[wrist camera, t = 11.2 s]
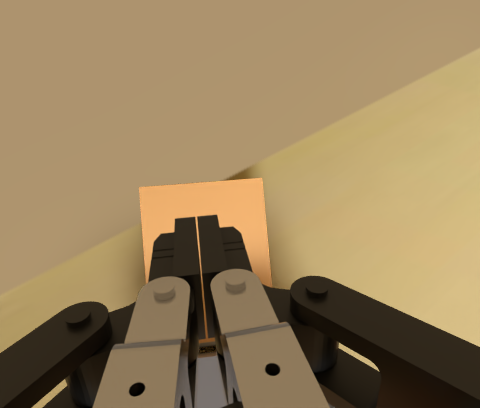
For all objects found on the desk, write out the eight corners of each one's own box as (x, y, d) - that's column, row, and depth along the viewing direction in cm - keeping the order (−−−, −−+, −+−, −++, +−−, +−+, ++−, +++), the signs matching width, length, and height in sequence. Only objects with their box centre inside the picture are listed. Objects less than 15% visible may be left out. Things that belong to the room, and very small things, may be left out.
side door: (151, 356, 31) (138, 187, 32) (154, 349, 33) (142, 189, 34) (277, 340, 32) (262, 177, 33) (273, 334, 34) (259, 180, 35)
